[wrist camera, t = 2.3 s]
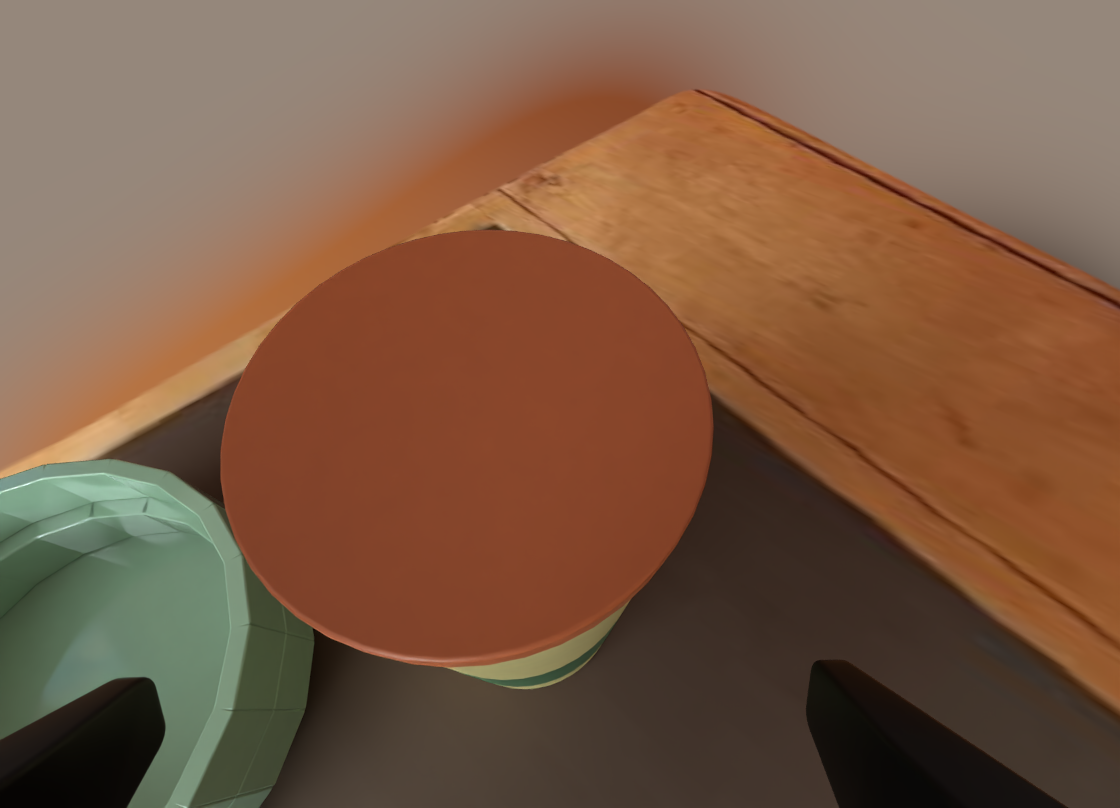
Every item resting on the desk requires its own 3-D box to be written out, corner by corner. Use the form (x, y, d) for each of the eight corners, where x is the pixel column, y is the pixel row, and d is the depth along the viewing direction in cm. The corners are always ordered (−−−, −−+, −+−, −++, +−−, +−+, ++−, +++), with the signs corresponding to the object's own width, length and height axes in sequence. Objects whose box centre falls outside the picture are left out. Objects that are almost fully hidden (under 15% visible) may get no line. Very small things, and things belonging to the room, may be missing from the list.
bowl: (65, 1098, 12) (-176, 1288, 8) (-185, 777, 15) (-447, 802, 11) (396, 622, 17) (348, 597, 13) (159, 455, 20) (63, 395, 16)
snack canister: (559, 737, 15) (554, 811, 5) (397, 622, 17) (104, 474, 6) (649, 555, 18) (783, 327, 7) (502, 471, 20) (428, 181, 9)
